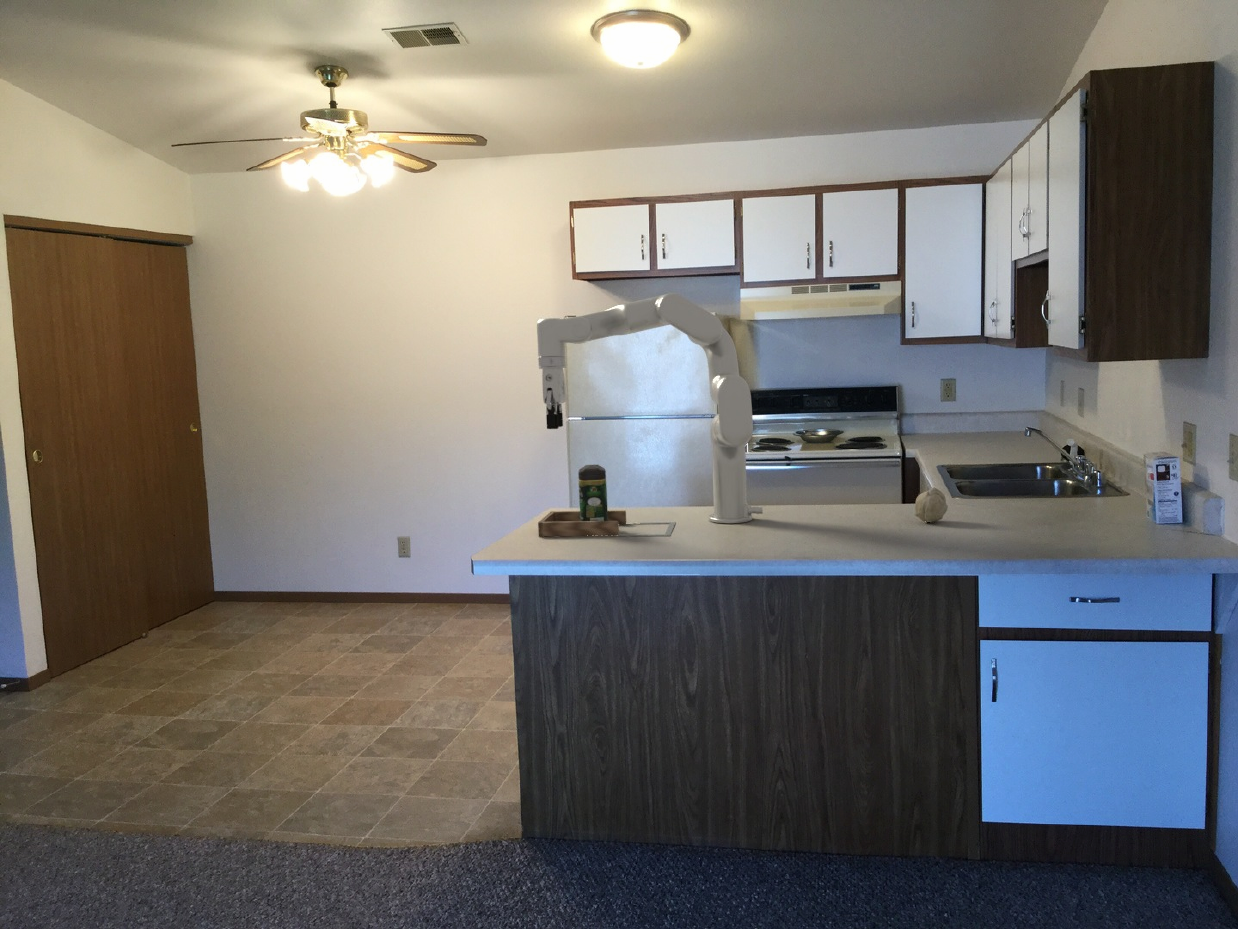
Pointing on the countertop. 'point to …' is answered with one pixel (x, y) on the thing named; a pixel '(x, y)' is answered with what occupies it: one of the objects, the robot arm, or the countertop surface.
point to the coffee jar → (592, 493)
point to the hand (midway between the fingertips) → (555, 427)
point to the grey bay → (668, 533)
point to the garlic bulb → (931, 505)
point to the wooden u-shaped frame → (579, 524)
